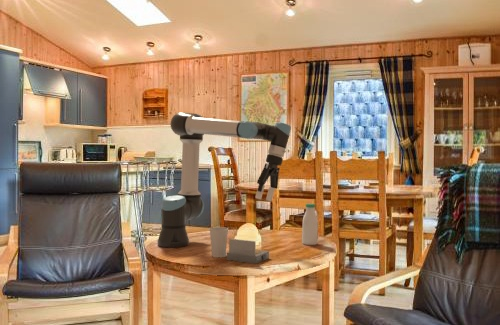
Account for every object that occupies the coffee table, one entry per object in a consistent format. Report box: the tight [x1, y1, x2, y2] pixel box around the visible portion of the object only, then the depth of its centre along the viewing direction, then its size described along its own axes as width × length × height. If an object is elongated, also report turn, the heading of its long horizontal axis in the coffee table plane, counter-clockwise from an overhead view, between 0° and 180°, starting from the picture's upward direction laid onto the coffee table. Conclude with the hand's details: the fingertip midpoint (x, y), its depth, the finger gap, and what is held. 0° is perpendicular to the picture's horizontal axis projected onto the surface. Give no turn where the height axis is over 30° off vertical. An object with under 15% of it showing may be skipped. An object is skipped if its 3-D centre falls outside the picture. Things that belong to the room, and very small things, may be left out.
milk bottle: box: [301, 203, 319, 246], centre depth 241 cm, size 8×8×20 cm
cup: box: [209, 226, 229, 258], centre depth 212 cm, size 8×8×12 cm
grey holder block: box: [226, 238, 270, 265], centre depth 206 cm, size 14×12×9 cm
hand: (263, 199), depth 224 cm, fingers open, 13 cm apart
